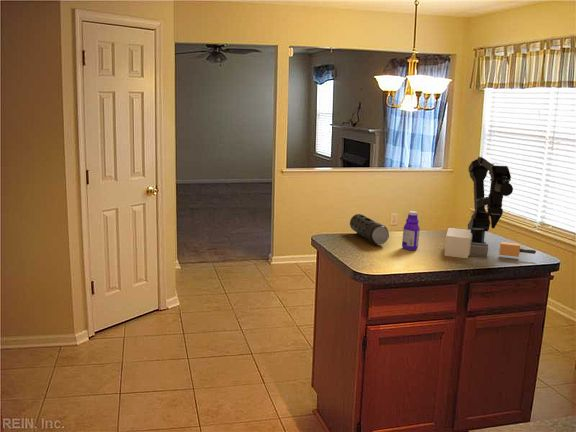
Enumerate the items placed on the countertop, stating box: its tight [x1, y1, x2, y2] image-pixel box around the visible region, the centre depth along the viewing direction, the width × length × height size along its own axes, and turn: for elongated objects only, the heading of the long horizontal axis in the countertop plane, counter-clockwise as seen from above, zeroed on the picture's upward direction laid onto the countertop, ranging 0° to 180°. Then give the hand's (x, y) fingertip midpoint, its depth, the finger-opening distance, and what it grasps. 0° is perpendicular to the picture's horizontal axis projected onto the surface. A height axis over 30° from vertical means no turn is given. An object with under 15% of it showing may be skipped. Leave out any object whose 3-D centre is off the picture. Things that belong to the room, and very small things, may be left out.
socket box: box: [444, 227, 489, 259], centre depth 264 cm, size 18×18×9 cm
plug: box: [498, 241, 537, 258], centre depth 258 cm, size 15×4×5 cm, turn 72°
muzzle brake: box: [349, 213, 390, 245], centre depth 282 cm, size 10×28×10 cm, turn 15°
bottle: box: [401, 210, 421, 251], centre depth 267 cm, size 7×6×17 cm
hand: (492, 226), depth 267 cm, fingers open, 9 cm apart
